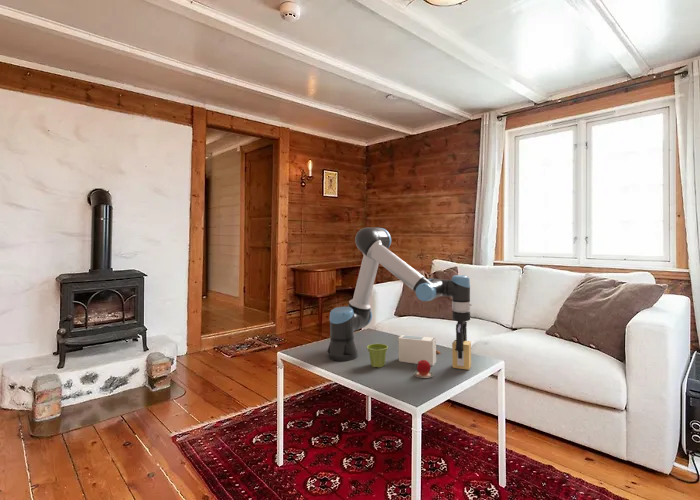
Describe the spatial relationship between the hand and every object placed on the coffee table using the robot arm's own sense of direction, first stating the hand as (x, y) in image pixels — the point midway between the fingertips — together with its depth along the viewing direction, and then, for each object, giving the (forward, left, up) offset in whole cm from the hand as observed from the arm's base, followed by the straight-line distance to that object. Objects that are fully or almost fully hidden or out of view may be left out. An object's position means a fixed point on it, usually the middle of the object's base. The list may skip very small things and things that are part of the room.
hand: (461, 362), depth 165 cm
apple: (-13, -16, -2) cm, 20 cm away
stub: (0, 0, -2) cm, 2 cm away
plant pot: (-35, -12, -2) cm, 37 cm away
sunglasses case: (-21, +19, -3) cm, 28 cm away
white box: (-20, 0, -2) cm, 20 cm away
